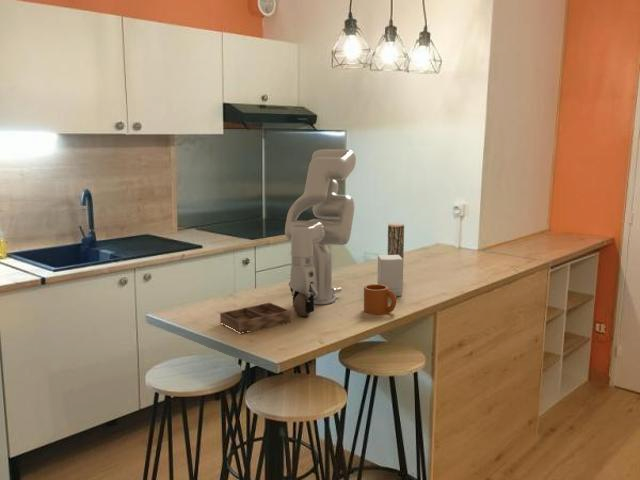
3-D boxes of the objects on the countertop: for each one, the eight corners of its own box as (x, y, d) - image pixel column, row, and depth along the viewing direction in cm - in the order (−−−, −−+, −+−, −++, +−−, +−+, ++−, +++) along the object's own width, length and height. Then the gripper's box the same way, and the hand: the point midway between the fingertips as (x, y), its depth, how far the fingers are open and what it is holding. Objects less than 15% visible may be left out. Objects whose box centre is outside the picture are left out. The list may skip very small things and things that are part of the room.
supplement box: (402, 296, 241) (403, 259, 238) (380, 296, 240) (380, 259, 237) (398, 290, 250) (399, 254, 247) (377, 290, 249) (377, 254, 246)
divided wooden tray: (269, 313, 220) (269, 302, 219) (290, 322, 210) (290, 310, 209) (220, 324, 208) (220, 313, 207) (240, 334, 198) (240, 322, 197)
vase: (290, 313, 218) (290, 289, 216) (307, 309, 221) (307, 286, 219) (298, 318, 212) (298, 294, 210) (316, 315, 215) (316, 291, 213)
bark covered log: (385, 282, 261) (386, 225, 257) (388, 278, 268) (389, 222, 263) (401, 283, 259) (402, 225, 254) (404, 280, 265) (405, 223, 261)
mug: (386, 318, 214) (386, 293, 212) (359, 311, 222) (358, 287, 220) (400, 311, 221) (400, 287, 219) (373, 305, 228) (373, 282, 227)
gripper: (326, 263, 208) (326, 313, 212) (296, 254, 221) (297, 301, 225) (308, 267, 204) (309, 318, 207) (279, 257, 217) (280, 305, 221)
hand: (303, 308), depth 216 cm, fingers closed on vase, 6 cm apart
